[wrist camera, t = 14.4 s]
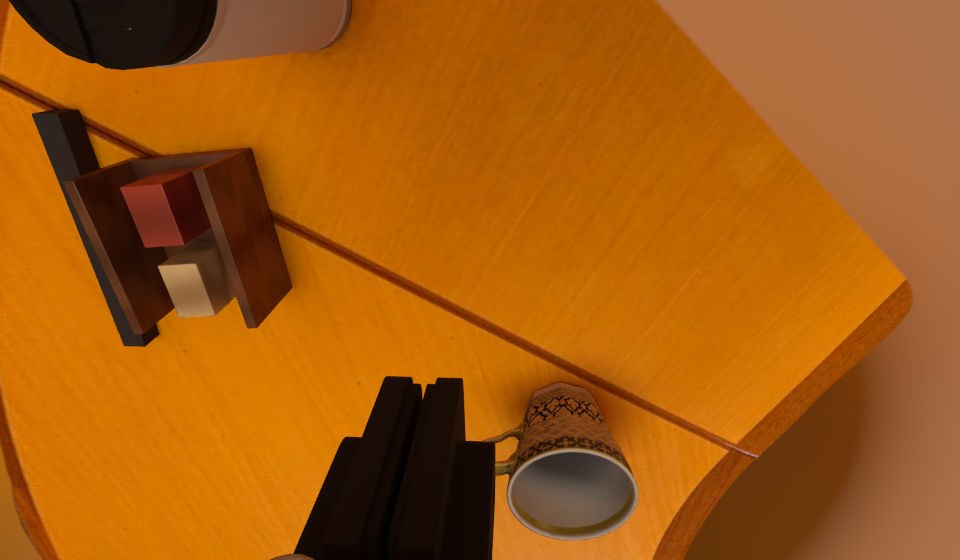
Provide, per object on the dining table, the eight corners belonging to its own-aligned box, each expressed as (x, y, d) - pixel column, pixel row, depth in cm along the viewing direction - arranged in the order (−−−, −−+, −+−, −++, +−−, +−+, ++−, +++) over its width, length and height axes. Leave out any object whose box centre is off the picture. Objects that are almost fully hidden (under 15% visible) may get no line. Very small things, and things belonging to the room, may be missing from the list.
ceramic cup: (633, 383, 46) (661, 469, 37) (592, 459, 50) (608, 553, 41) (495, 345, 45) (489, 424, 36) (466, 426, 49) (455, 515, 40)
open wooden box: (130, 158, 39) (61, 181, 33) (251, 147, 38) (202, 169, 32) (184, 294, 45) (133, 334, 39) (292, 287, 44) (257, 328, 38)
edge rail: (53, 109, 38) (30, 113, 36) (78, 109, 38) (57, 113, 36) (138, 334, 47) (123, 346, 45) (159, 334, 47) (145, 346, 45)
